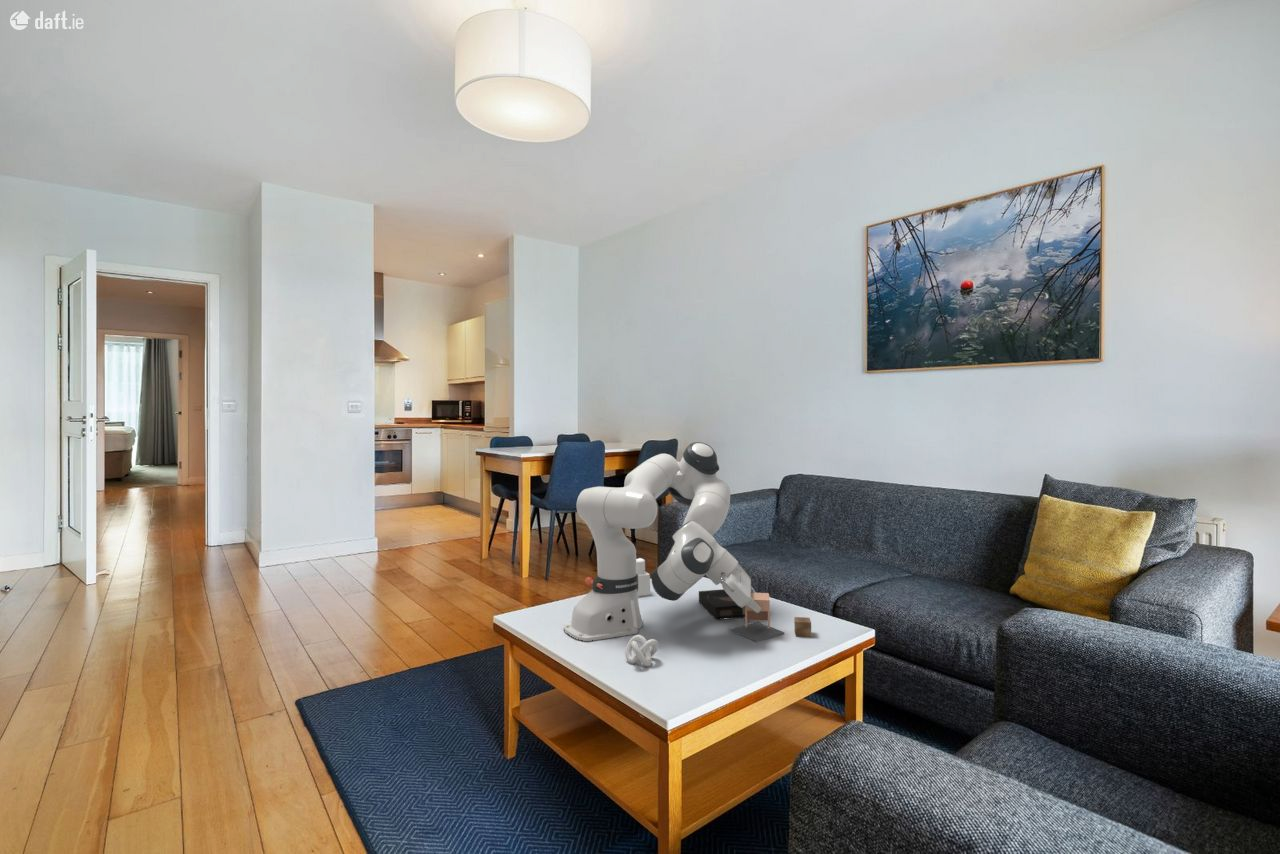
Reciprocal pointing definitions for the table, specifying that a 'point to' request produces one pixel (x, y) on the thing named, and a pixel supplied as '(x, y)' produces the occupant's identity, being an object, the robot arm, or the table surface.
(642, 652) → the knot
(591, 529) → the robot arm
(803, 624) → the walnut block
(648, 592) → the white block with cylinder
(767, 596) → the tan square arch
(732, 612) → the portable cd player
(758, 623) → the slate mat
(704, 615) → the table surface
